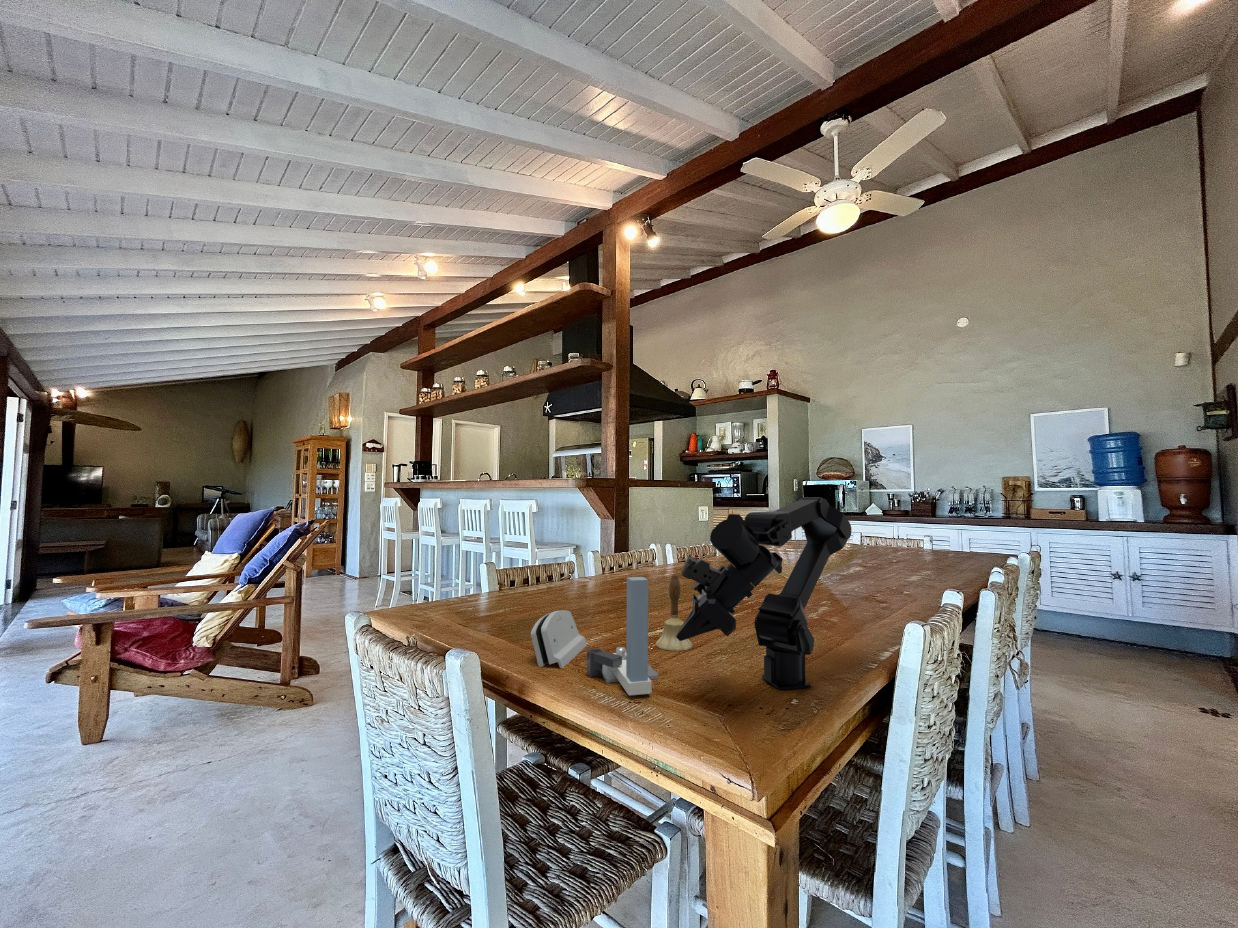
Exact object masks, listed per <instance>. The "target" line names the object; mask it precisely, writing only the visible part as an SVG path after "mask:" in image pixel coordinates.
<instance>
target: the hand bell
mask: <svg viewBox="0 0 1238 928" xmlns="http://www.w3.org/2000/svg"><path fill="white" fill-rule="evenodd" d="M668 585H669V586H668V593H669V594H668V595H669V599H670V603H671V604H670V617H669V618H668V619H665V620H664V623H663V631H662V634H661V636H660V637H659V638H658V639H657V641H656V642H655V646H656V647H657V648H659V649H661V650H664V651H671V652H683V651H688V650H691V649H692V648H693V642H691V641H690V640H689V638H688V639H686V640H683V641H679V640H678V639H677V637H676V635H677V633H678V631H679V630H680V628H681V627H682V625H683V623H684V622H685V621H684V620H681V619H680V618H679V600H680V596H681V583H680V580H679V576H678V574H676V573H675V574H671V577H670V581H669V584H668Z"/></svg>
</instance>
